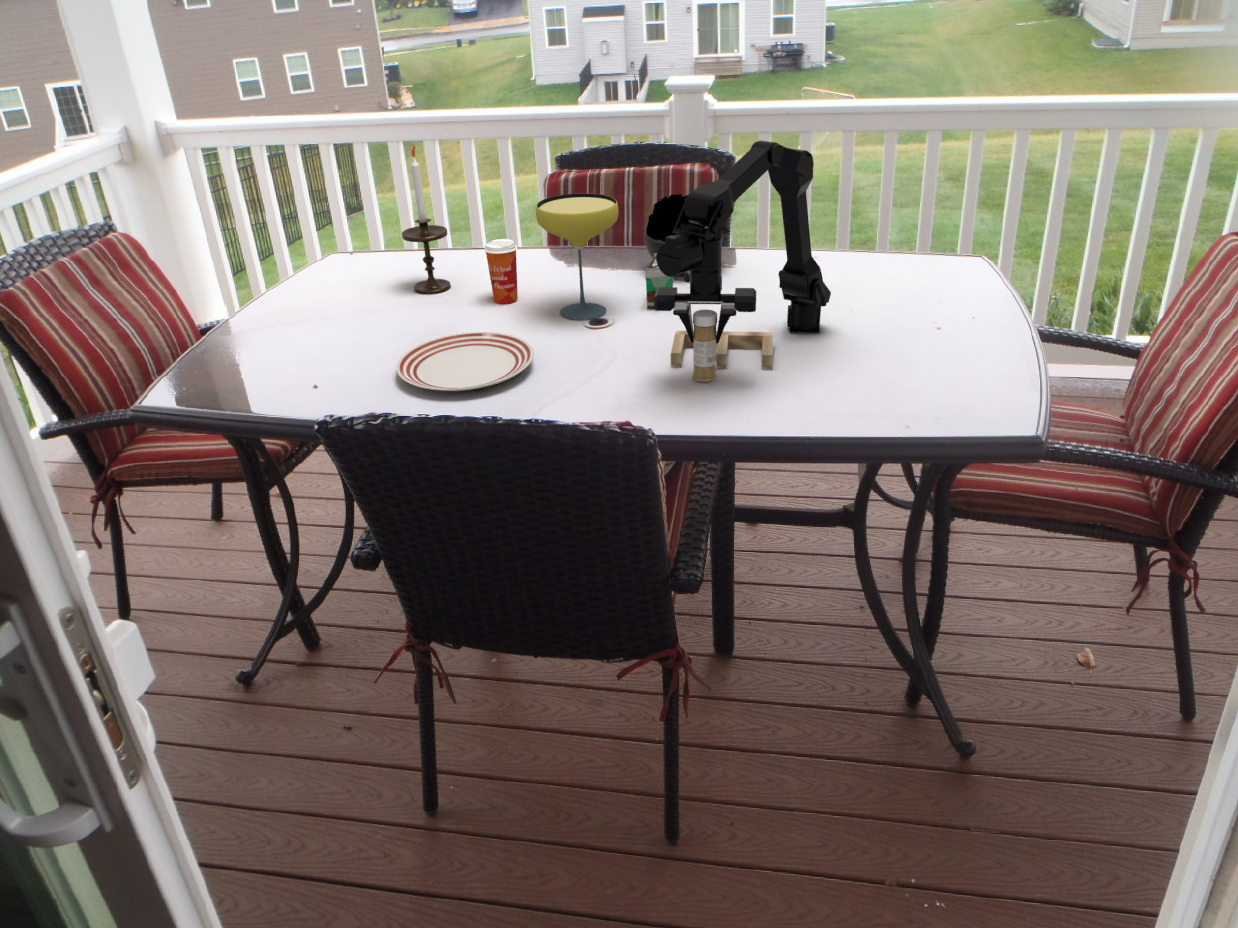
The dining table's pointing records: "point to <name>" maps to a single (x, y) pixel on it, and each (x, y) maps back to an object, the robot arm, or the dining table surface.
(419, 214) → the candlestick
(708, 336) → the sprinkles bottle
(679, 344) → the comb rack
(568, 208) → the cocktail glass
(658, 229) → the coal bowl
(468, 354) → the dinner plate
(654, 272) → the food container
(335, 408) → the dining table surface
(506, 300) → the paper cup
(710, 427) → the dining table surface
